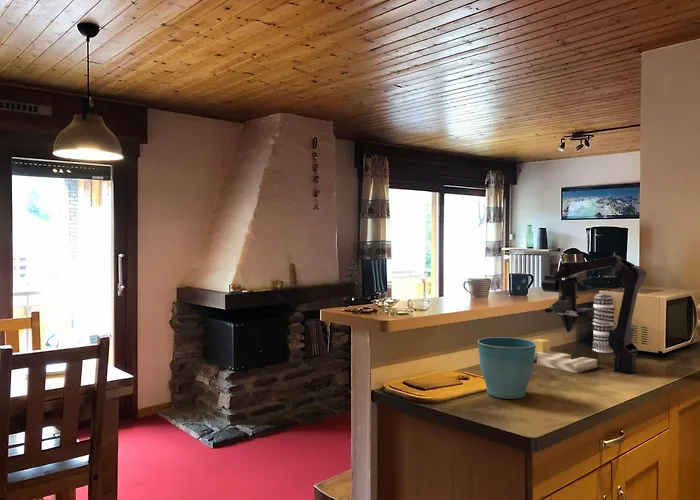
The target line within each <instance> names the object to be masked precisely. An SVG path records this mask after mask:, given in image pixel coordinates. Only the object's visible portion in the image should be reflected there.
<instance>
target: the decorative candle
mask: <svg viewBox="0 0 700 500" xmlns="http://www.w3.org/2000/svg"><path fill="white" fill-rule="evenodd" d="M613 300H614V297H613V296H612V295H611V294H610V293H605V292H604V293H603V292H602V293H596V294H595V295H594V296H593V306H591V309H593V311H594V316H591V317H592V318H593V319H592V325H593V330H592V331H593V334H592V336H593V337H592V340H593V341H592V351H593V350H594V351H593V352H595V351H596V352H597V353H602V354H603V353H604V354H605V353H609V354H610V353H613V350H612V348H611V347H610V346H609V340H607V339H608V337H609V331H610V330H611V329H614V325H615V324H614V323H615V320H614V319H615V316H614V314H615V308H614V301H613Z"/></svg>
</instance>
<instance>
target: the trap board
mask: <svg viewBox="0 0 700 500" xmlns="http://www.w3.org/2000/svg"><path fill="white" fill-rule="evenodd" d="M535 361H536V365H537V366H543V367H547V368H551V369H557V370H560V371H561V370H562V371H565V372H571V373H576V374H577V373H581V372H585V371H589V370H592V369H596V368H598V359H596V358H591V357H587V356H586V357H585V356H581V357H577V358H573V359H572V354H568V353H563V352H557V351H551V350H550V351H549V352H544V353H540V352H535V354H534V362H535Z"/></svg>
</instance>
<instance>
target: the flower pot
mask: <svg viewBox="0 0 700 500" xmlns="http://www.w3.org/2000/svg"><path fill="white" fill-rule="evenodd" d="M477 344H478V345H477V346H478V357H479V366H480V370H481V374H482V377H483V379H484V383H485V387H486V393H487V394H488V395H489V396H492V397H495V398H499V399H507V400H508V399H509V400H510V399H511V400H513V399H514V400H516V399H521V398H524V397H525V396H526V392H527V387H528V385H529V381H530V379H531V377H532V374H533V369H534V363H535V361H534V354H535V347H536V343H535V342H533V341H532V340H529V339H524V338H520V337H519V338H517V337H506V336H495V337H494V336H492V337H484V338H479V339H477Z"/></svg>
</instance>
